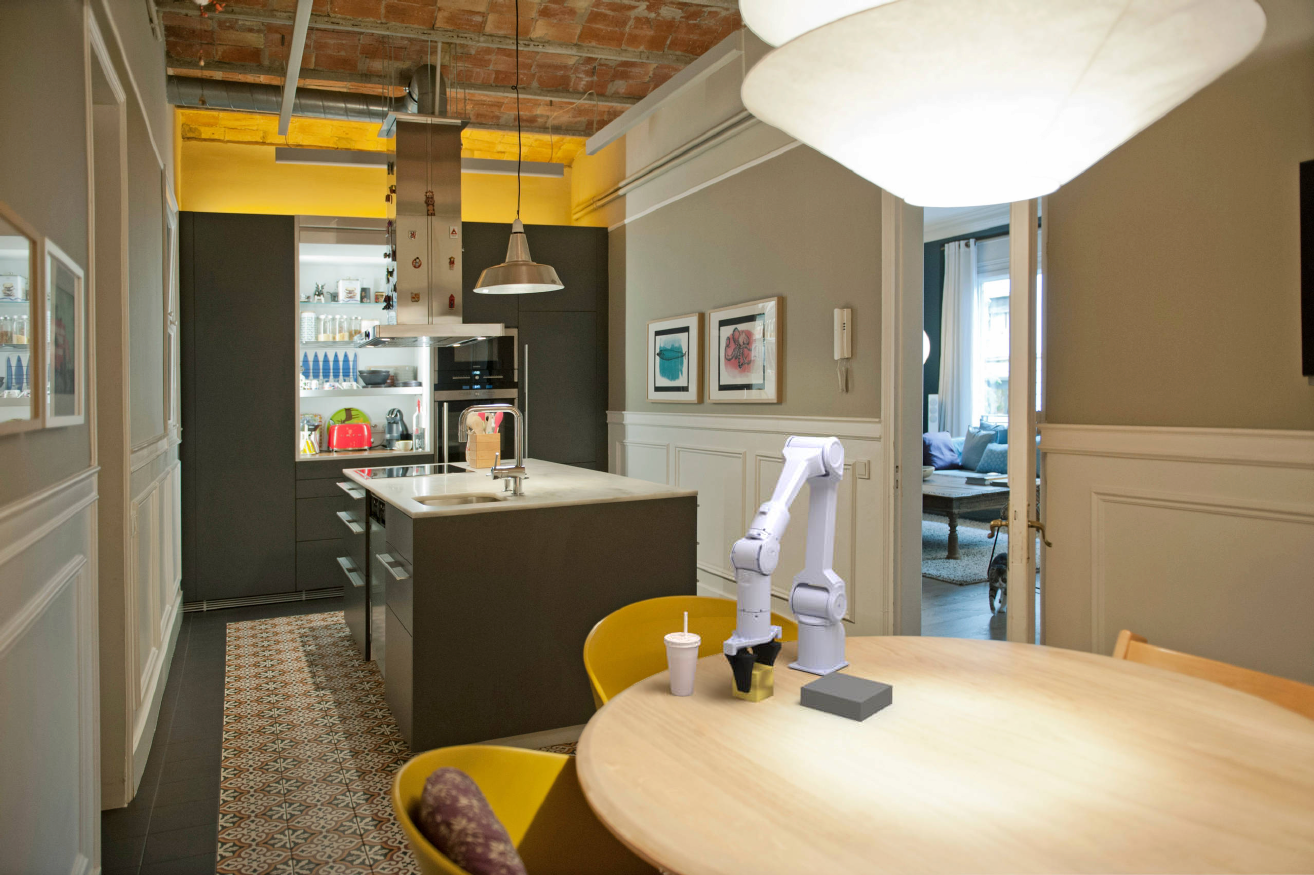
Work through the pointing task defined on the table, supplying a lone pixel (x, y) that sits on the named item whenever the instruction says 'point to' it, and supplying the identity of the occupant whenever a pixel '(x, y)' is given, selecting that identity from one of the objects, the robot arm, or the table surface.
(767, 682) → the mustard cube
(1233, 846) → the table surface
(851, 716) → the base block
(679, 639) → the smoothie
